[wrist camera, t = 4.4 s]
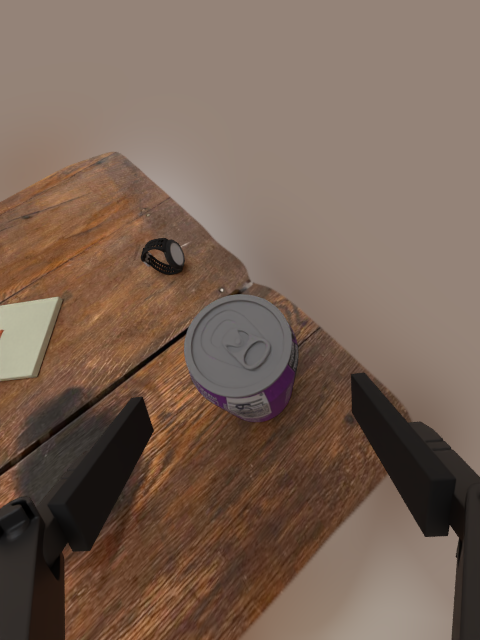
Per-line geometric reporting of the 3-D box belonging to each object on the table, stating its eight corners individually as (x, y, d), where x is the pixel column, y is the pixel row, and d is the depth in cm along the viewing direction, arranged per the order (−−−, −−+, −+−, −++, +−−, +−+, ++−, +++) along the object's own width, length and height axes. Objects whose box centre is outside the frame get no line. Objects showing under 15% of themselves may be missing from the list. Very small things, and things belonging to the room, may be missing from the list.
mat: (63, 299, 33) (57, 295, 32) (37, 377, 28) (30, 375, 27) (-23, 312, 35) (-31, 309, 34) (-63, 388, 30) (-73, 387, 29)
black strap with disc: (181, 284, 31) (164, 258, 27) (150, 275, 33) (129, 250, 28) (195, 260, 33) (181, 232, 28) (164, 253, 34) (147, 226, 30)
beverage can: (305, 376, 23) (325, 323, 13) (265, 439, 21) (249, 439, 11) (248, 339, 26) (226, 270, 16) (208, 392, 24) (151, 355, 14)
